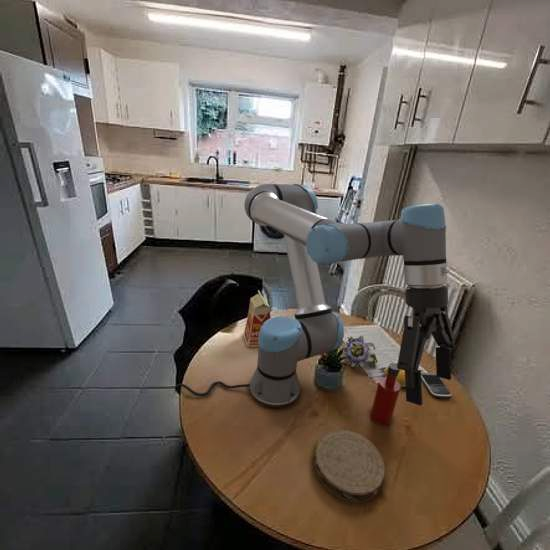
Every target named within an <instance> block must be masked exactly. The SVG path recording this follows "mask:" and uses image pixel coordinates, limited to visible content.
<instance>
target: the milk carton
mask: <svg viewBox="0 0 550 550" xmlns="http://www.w3.org/2000/svg"><path fill="white" fill-rule="evenodd" d="M257 292H258V293H256V294H255V295H254V296H252V297H250V299H249V308H248V313H247V317H246V323H245V327H244V331H243V334H242V335H243V338H244V341H245V343H246V345H247V348H248V347H249V348H250V347H255V348H256V347H257V348H258V346H259V343H258V338H259V334H260V329H261V327H262V325H263V323H264V322H265V321H267V320H268V319H270V318H272V316H271V315H272V313H271V306H270V305H269V302H268V301H267V299H266V298H265V297H264V295H263V294H262V293H261V291H260V290H259V289H257Z"/></svg>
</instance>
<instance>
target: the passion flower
mask: <svg viewBox="0 0 550 550" xmlns="http://www.w3.org/2000/svg"><path fill="white" fill-rule="evenodd" d="M346 338H347V340H346V341H345V342H344V343H345V345H346V346H345V347H344V348H343V349H342V350H343V354H342V355H345V357H346V360H345V362H346V363H350V367H351V368H354V367H356V365H357V364H358V365H359V367H360V368H364V366H365V364H366V362H367V361H368V362H370V364H371V367H372V368H374V367H376V364H377V363H378V359H377V355H376V354H375V351H373V350H376V346H375V344H374V343H373V342H364V339H365V337H364V335H363V334H362V335H359V336H358V337H356V338H354V337H353V336H352V335H351V336H350V337H349V336H346ZM371 348H373V350H372V349H371Z"/></svg>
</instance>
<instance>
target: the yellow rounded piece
mask: <svg viewBox="0 0 550 550" xmlns="http://www.w3.org/2000/svg"><path fill="white" fill-rule="evenodd" d="M388 367H389V365H388V366H387V367H385V368H384V370H383V374H384V377H387V374H388ZM396 381H397V382H398V383H399V384H400V386H401V388H406V385H405V370H401V369H400V371H399V374H398V376H397V378H396Z"/></svg>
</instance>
